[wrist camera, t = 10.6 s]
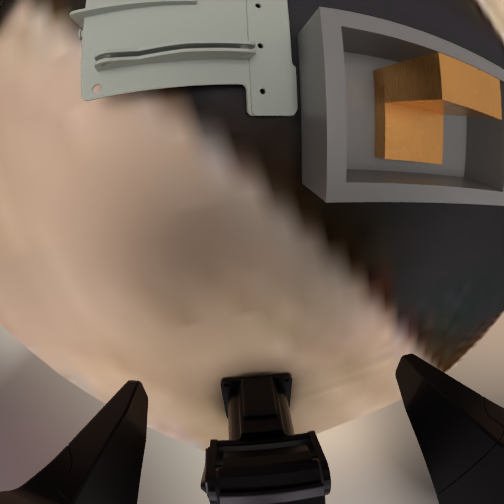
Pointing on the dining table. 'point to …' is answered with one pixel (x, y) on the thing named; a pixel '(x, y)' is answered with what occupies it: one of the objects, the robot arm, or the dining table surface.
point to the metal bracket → (189, 48)
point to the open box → (363, 118)
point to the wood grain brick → (428, 104)
